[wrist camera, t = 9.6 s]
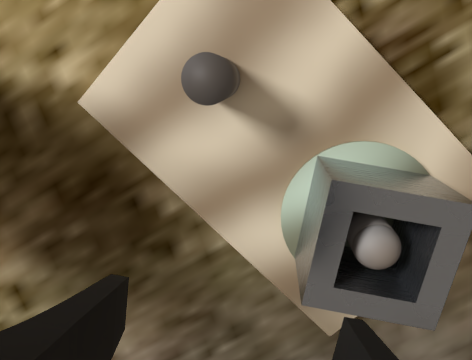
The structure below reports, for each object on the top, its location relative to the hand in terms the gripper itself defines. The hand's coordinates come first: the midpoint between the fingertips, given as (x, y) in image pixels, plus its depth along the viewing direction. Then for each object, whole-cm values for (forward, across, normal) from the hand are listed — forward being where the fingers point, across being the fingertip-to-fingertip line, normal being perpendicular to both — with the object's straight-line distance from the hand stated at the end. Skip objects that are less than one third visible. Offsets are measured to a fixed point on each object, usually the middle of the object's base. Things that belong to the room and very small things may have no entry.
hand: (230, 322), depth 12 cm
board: (+9, -2, -4) cm, 10 cm away
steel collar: (+8, -6, -2) cm, 10 cm away
